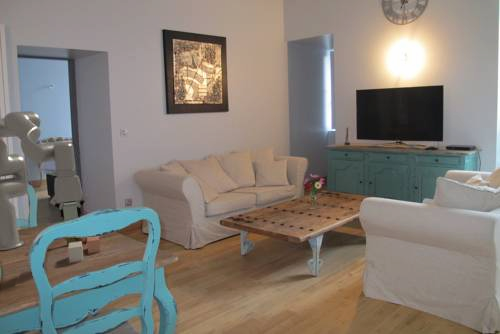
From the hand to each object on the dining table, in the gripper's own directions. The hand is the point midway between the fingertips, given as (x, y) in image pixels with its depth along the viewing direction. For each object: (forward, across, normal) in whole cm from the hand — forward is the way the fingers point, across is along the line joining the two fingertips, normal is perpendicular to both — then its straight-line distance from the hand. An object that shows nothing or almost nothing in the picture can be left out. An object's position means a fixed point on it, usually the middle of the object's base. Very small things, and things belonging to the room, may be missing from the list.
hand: (71, 217), depth 185 cm
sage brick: (+1, 0, 0) cm, 1 cm away
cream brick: (+18, 0, 0) cm, 18 cm away
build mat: (+18, 0, 0) cm, 18 cm away
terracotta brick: (+18, +7, +8) cm, 21 cm away
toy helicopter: (+18, -4, +25) cm, 31 cm away
